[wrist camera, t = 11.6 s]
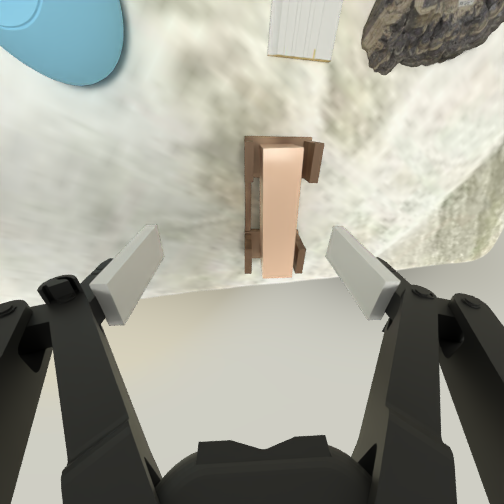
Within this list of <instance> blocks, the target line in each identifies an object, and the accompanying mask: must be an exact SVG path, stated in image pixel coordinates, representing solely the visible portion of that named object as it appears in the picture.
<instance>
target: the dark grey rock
mask: <svg viewBox="0 0 504 504" xmlns="http://www.w3.org/2000/svg"><path fill="white" fill-rule="evenodd" d="M502 22H504V0H377V1H376V3H375V5H374V7H373V10H372V12H371V15H370V17H369V19H368V21H367V23H366V25H365V27H364V30H363V36H362V49H364V50H365V51H366V52H367V54H368V58H369V67H370V68H373V70H374V72H379V73H380V74H381V75H387V74H388V73H389V72H391V71H392V69H393V68H394V67H395V66H396V65H397V64H398V63H401V64H402V65H405V66H409V67H417V66H420V65H421V64H424V65H425V66H428V65H431V64H434V63H437V62H439V63H442V62H444V61H446V60H447V59H453V58H455V57H456V56H458V55H460V54H461V53H462V52H463V51H464V50H469V49H472V48H474V47H478V46H479V45H481V44H483V43H484V42H485V41H486V40H487V38H488V36H489V35H490V34H491V33H492V32H493V31H495V30H496V29H497V28H498V27H499V25H500V24H501V23H502Z"/></svg>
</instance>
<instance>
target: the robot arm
mask: <svg viewBox="0 0 504 504" xmlns="http://www.w3.org/2000/svg"><path fill="white" fill-rule="evenodd" d="M325 257H326V258H327V260H328V261H329V263H330V264H331V266H332V267H333V269H334V270H335V272H336V273H337V275H338V276H339V278H340V279H341V281H342V282H343V283H344V285H345V286H346V288H347V290H348V291H349V293H350V294H351V296H352V297H353V299H354V300H355V302H356V303H357V305H358V306H359V308H360V309H361V311H362V312H363V314H364V315H365V317H366V318H367V320H381V319H382V317H383V315H384V313H385V312H386V314H387V315H388V316H389V319H388V321H387V323H386V325H385V327H384V329H383V330H382V332H384V336H383V340H382V344H381V348H380V353H379V357H378V361H377V365H376V369H375V373H374V377H373V381H372V386H371V389H370V394H369V398H368V402H367V406H366V410H365V414H364V418H363V422H362V426H361V430H360V435H359V438H358V441H357V444H356V446H355V449H354V451H353V454H352V456H351V457H350V456H349V455H347V454H346V453H344V452H342V451H341V450H339V449H337V448H334V447H332V446H329V445H328V444H327V440H326V437H325V435H317V436H299V437H293V438H291V439H289V440H286V441H284V442H282V443H279V444H277V445H275V446H272V447H270V448H268V449H258V448H255V447H252V446H248V445H245V444H242V443H238V442H235V441H231V440H227V441H209V442H199V444H198V452H196V453H193V454H191V455H189V456H188V457H186V458H184V459H183V460H181V461H180V462H179V463H178V464H176V465H175V466H174V467H173V468H172V469H171V470H170V471H169V472H168V473H167V474H166V475H165V476H164V477H163V478H162V476H161V474H160V471H159V469H158V467H157V464H156V462H155V460H154V458H153V456H152V453H151V451H150V449H149V446H148V444H147V441H146V438H145V436H144V433H143V431H142V428H141V425H140V423H139V420H138V418H137V415H136V413H135V410H134V408H133V405H132V402H131V400H130V397H129V395H128V392H127V389H126V387H125V384H124V382H123V379H122V377H121V374H120V371H119V369H118V366H117V364H116V361H115V359H114V356H113V353H112V351H111V348H110V346H109V343H108V340H107V338H106V335H105V333H104V330H103V328H102V326H101V323H102V322H103V320H104V319H105V318H106V320H107V322H108V324H109V326H111V325H114V326H115V325H125V323H126V322H127V320H128V318H129V316H130V315H131V313H132V311H133V310H134V308H135V306H136V304H137V303H138V301H139V299H140V298H141V296H142V294H143V292H144V291H145V289H146V287H147V286H148V284H149V282H150V280H151V279H152V277H153V275H154V273H155V272H156V270H157V268H158V267H159V265H160V263H161V261H162V260H163V258H164V254H163V249H162V245H161V240H160V236H159V231H158V227H157V225H145V226H144V227H143V228H142V229H141V231H140V232H139V233H138V234H137V235H136V236H135V237H134V238H133V239H132V240H131V241H130V242H129V243H128V244H127V245H126V246H125V247H124V248H123V249H122V250H121V251H120V252H119V254H118V255H117V256H116V257H115V258H110V259H108V260H106V261H104V262H103V263H101V264H100V265H99V266H98V267H97V268H96V270H94V271H93V272H92V273H91V275H89V276H88V277H87V278H86V279H85V280H84V281H83V282H82V283H81V284H80V283H79V281H78V279H77V278H76V277H75V276H74V275H62V276H58V277H55V278H52V279H50V280H48V281H46V282H44V283H43V284H42V285H41V286H39V288H38V290H37V291H38V293H39V294H40V296H41V297H42V299H43V300H44V302H45V303H46V304H43V305H38V306H33V307H29V306H28V304H27V303H26V302H25V301H24V300H14V301H9V302H6V303H2V304H0V504H11V500H12V497H13V493H14V489H15V486H16V482H17V478H18V475H19V471H20V467H21V464H22V460H23V456H24V452H25V449H26V445H27V442H28V438H29V434H30V431H31V427H32V423H33V420H34V416H35V412H36V409H37V404H38V401H39V398H40V394H41V390H42V387H43V383H44V379H45V376H46V372H47V368H48V364H49V361H50V357H51V354H52V350H53V353H54V361H55V368H56V375H57V383H58V389H59V398H60V405H61V412H62V420H63V427H64V434H65V442H66V448H67V456H68V464H67V466H66V467H65V469H64V470H63V471H62V476H61V489H62V499H63V504H457V497H456V483H455V481H456V480H455V466H454V458H453V453H452V451H451V449H450V447H449V446H447V445H446V444H444V443H443V441H442V438H441V417H440V381H439V364H440V366H441V369H442V372H443V375H444V377H445V380H446V383H447V386H448V388H449V391H450V394H451V397H452V400H453V403H454V405H455V408H456V411H457V414H458V416H459V419H460V422H461V425H462V427H463V430H464V433H465V436H466V439H467V442H468V444H469V447H470V450H471V452H472V455H473V458H474V461H475V463H476V466H477V469H478V472H479V475H480V478H481V481H482V483H483V486H484V489H485V492H486V494H487V497H488V500H489V503H490V504H504V326H503V325H502V324H501V322H500V321H499V320H498V318H497V317H496V316H495V314H494V313H493V312H492V310H491V309H490V308H489V307H488V306H487V305H486V304H485V303H484V302H482V301H481V300H480V299H478V298H475V297H473V296H470V295H467V294H461V293H458V294H455V295H454V296H453V297H452V299H451V300H447V299H442V298H437V297H436V295H434V293H432V292H431V291H430V290H428V289H426V288H424V287H421V286H418V285H411V284H410V283H408V282H407V281H406V280H405V279H404V278H403V277H402V276H401V275H400V274H399V273H398V272H396V271H395V270H394V269H393V268H391V266H390V265H389V264H388V263H387V262H385V261H384V260H382V259H380V258H378V257H375V256H374V255H373V254H372V253H371V252H370V251H368V250H367V249H366V248H365V247H364V246H363V245H362V244H361V243H360V242H359V241H358V240H357V239H356V238H355V237H354V236H353V235H352V234H351V233H350V232H349V231H348V230H347V229H346V228H344V227H343V226H333V229H332V233H331V237H330V241H329V244H328V248H327V252H326V256H325Z"/></svg>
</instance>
